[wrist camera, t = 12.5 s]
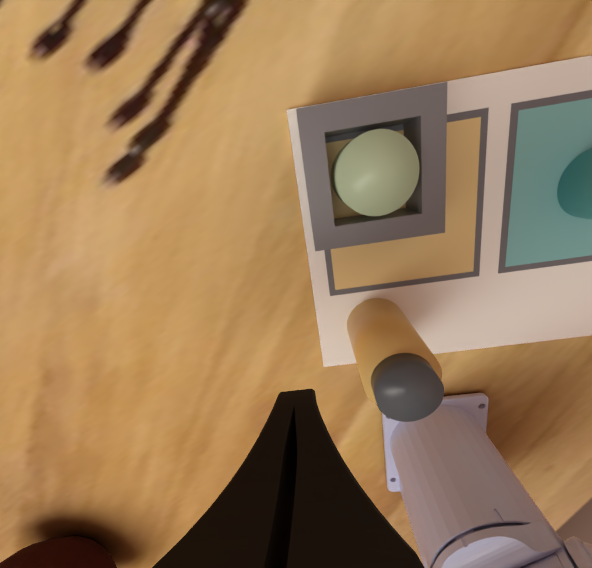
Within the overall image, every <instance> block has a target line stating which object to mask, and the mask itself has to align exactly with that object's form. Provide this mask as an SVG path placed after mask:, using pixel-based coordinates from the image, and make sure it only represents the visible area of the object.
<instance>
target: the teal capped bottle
mask: <svg viewBox="0 0 592 568" xmlns="http://www.w3.org/2000/svg"><path fill="white" fill-rule="evenodd" d="M557 197H558V201H559V204H560V206H561V208H562V209H563V210H564V211H565V212H566V213H567V214H569V215H571V216H574V217H578V218H584V219H591V220H592V148H591V149H588V150H586V151H584V152H583V153H581V154H580V155H578V156H577V157H576V158H575V159H574V160H573V161H572V162H571V163H570V164H569V165H568V166H567V168H566V169H565V170H564V172H563V174H562V176H561V178H560V181H559V184H558V190H557Z"/></svg>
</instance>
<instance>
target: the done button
mask: <svg viewBox="0 0 592 568" xmlns="http://www.w3.org/2000/svg"><path fill="white" fill-rule="evenodd" d="M418 178H419V160H418V156H417V153H416V150H415V148H414V147H413V145H412V144H411V142H410V141H409V140H408V139H407V138H406V137H404V136H403V135H402V134H400V133H398V132H396V131H393V130H389V129H375V130H371V131H368V132H365V133H363V134H361V135H359V136H358V137H356V138H355V139H353V140H352V141H350V142H349V143H347V144H346V145H345V146H344V147H343V148H342V149H341V150H340V151H339V152H338V154H337V155H336V157H335V159H334V161H333V164H332V169H331V183H332V187H333V190H334V192H335V194H336V195H337V197H338V198H339V199H340V200H341V201H342V202H343V203H345V204H346V205H347V206H349V207H350V208H351V209H353V210H354V211H356V212H358V213H360V214H363V215H367V216H382V215H386V214H389V213H391V212H393V211H395V210H397V209H398V208H400V207H401V206H402V205H403V204H404V203H405V202H406V201H407V200H408V199H409V198H410V196H411V195H412V193H413V192H414V190H415V187H416V185H417V182H418Z"/></svg>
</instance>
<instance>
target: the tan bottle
mask: <svg viewBox="0 0 592 568" xmlns="http://www.w3.org/2000/svg"><path fill="white" fill-rule="evenodd" d="M347 331H348V335H349V338H350V342H351V345H352V349H353V352H354V356H355V359H356V363H357V366H358V370H359V373H360V377H361V380H362V384H363V387H364V390H365V393H366V395H367V396H368V397H369V399H370V400H371V401H372V402H374V403H375V404H376V405H377V406H378V408H379V409H380V411H381V412H382V413H383V414H384V415H385V416H387V417H389V418H390V419H393V420H396V421H401V422H411V421H417V420H420V419H423V418H425V417H427V416H429V415H430V414H432V413H433V412H434V411H435V410H436V409H437V408H438V407H439V406H440V404H441V402H442V400H443V397H444V387H443V384H442V381H441V378H442V371H441V367H440V364H439V362H438V361H437V359H436V358H435V356H434V355H433V353H432V352H431V351H430V349H429V348H428V347H427V345H426V344H425V342H424V341H423V340H422V338H421V337H420V335H419V334H418V333H417V331H416V330H415V328H414V327H413V326H412V324H411V323H410V321H409V320H408V319H407V317H406V316H405V315H404V313H403V312H402V310H401V309H400V308H399V307H398V306H397V305H396V304H395V303H394V302H392V301H390V300H387V299H383V298H373V299H369V300H366V301H363V302H362V303H360V304H358V305H357V306H356V307H355V308H354V309H353V310H352V311H351V313H350V315H349V317H348V320H347Z"/></svg>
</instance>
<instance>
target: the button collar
mask: <svg viewBox="0 0 592 568" xmlns="http://www.w3.org/2000/svg"><path fill="white" fill-rule="evenodd" d="M296 113H297V122H298V130H299V137H300V144H301V152H302V159H303V166H304V174H305V181H306V189H307V196H308V203H309V211H310V218H311V226H312V233H313V240H314V246H315V251H322V250H329V249H336V248H343V247H350V246H356V245H363V244H370V243H377V242H384V241H391V240H398V239H405V238H412V237H419V236H425V235H432V234H439V233H445V208H446V141H447V82H443V83H437V84H432V85H426V86H420V87H415V88H409V89H404V90H398V91H393V92H387V93H381V94H376V95H370V96H365V97H359V98H353V99H348V100H342V101H337V102H331V103H325V104H320V105H314V106H309V107H303V108H297V109H296ZM401 124H403V130H404V137H406V138H407V139H408V140H409V141H410V142H411V144H412V145H413V147H414V148H415V150H416V153H417V156H418V160H419V178H418V182H417V185H416V187H415V190H414V192H413V193H412V195H411V196H410V198H409V199H408V200H407V201H406V208H402V209H397V210H395V211H393V212H391V213H389V214H386V215H382V216H367V215H356V216H350V217H343V218H337V219H334V216H333V206H332V197H331V188H330V179H329V170H328V161H327V152H326V142H325V137H331V136H337V135H342V134H348V133H354V132H360V131H366V130H372V129H378V128H383V127H389V126H395V125H401Z"/></svg>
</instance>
